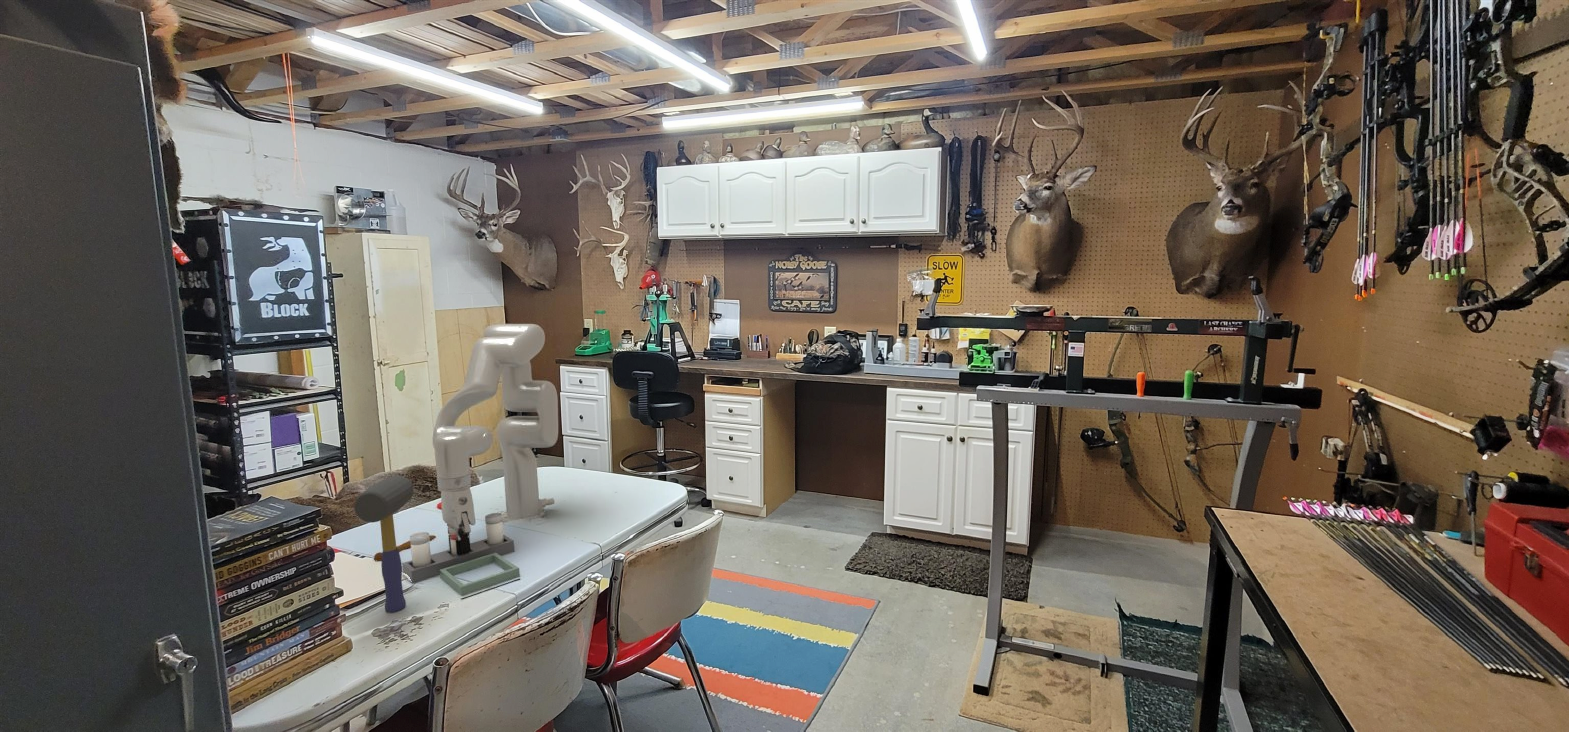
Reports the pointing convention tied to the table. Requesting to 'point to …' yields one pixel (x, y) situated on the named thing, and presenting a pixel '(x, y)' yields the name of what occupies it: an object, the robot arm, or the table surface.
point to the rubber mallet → (387, 530)
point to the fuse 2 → (494, 528)
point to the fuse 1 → (420, 549)
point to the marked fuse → (453, 540)
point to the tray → (485, 582)
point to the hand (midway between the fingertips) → (460, 550)
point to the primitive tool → (400, 548)
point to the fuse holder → (456, 559)
